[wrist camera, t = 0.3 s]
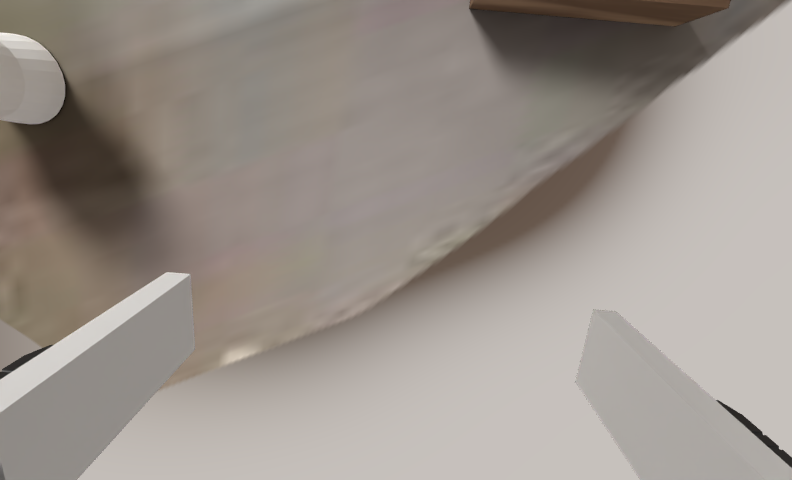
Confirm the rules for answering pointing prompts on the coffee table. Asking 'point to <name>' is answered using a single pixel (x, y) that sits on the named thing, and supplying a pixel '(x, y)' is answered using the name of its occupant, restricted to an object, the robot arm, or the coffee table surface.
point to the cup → (28, 81)
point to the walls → (611, 9)
